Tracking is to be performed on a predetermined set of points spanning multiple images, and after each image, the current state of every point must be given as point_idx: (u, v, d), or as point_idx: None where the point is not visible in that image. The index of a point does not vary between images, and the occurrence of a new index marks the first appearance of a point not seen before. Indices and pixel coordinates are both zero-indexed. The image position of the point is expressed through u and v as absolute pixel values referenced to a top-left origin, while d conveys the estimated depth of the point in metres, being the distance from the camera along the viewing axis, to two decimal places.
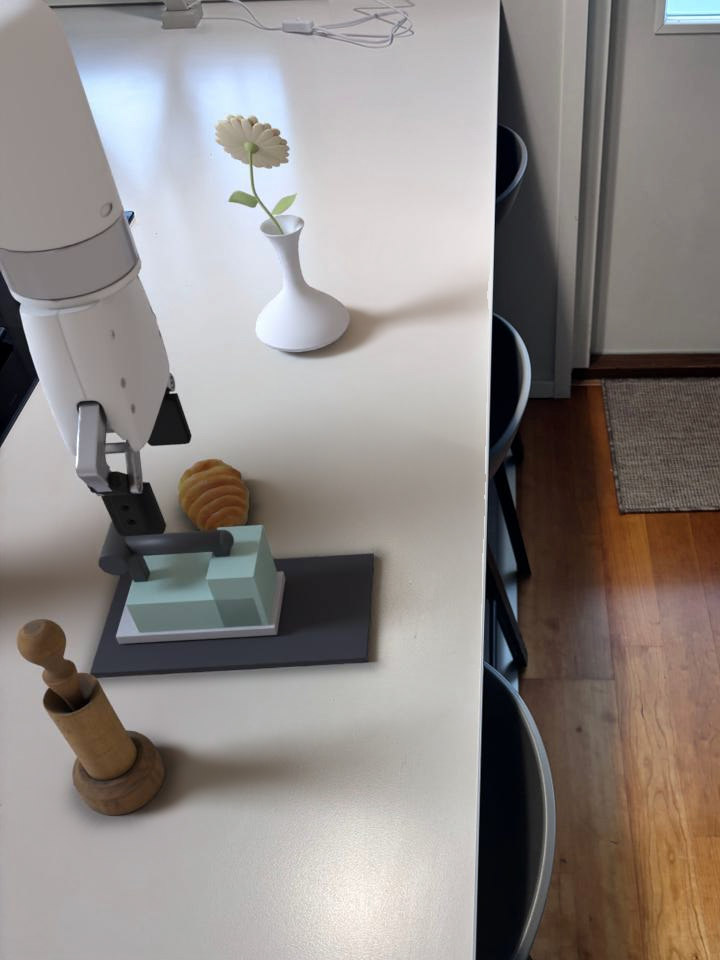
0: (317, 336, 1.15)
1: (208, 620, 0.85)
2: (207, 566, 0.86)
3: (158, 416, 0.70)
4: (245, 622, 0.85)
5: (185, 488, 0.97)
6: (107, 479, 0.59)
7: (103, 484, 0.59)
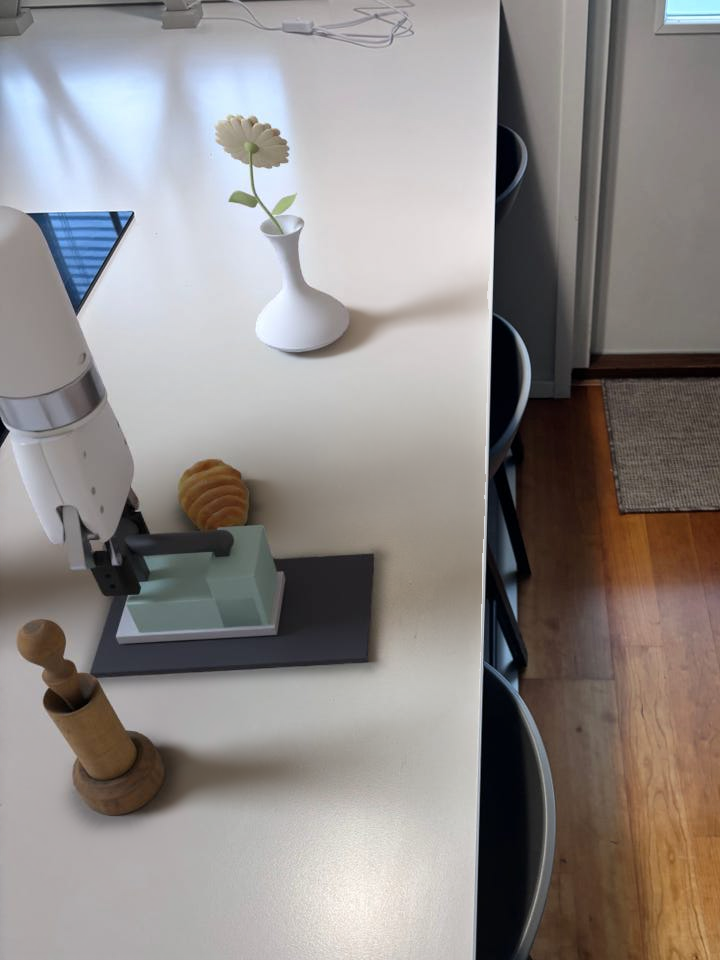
0: (317, 336, 1.15)
1: (208, 620, 0.85)
2: (207, 566, 0.86)
3: None
4: (245, 622, 0.85)
5: (185, 488, 0.97)
6: (93, 557, 0.76)
7: None
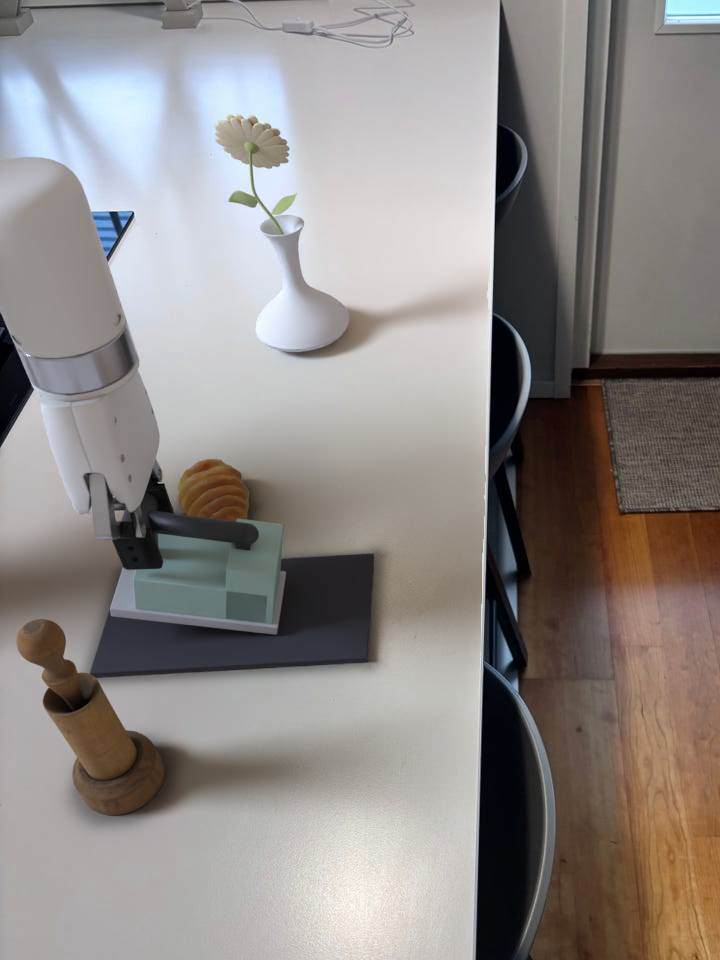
0: (317, 336, 1.15)
1: (212, 609, 0.84)
2: (219, 555, 0.85)
3: None
4: (249, 617, 0.85)
5: (185, 488, 0.97)
6: (118, 528, 0.73)
7: None
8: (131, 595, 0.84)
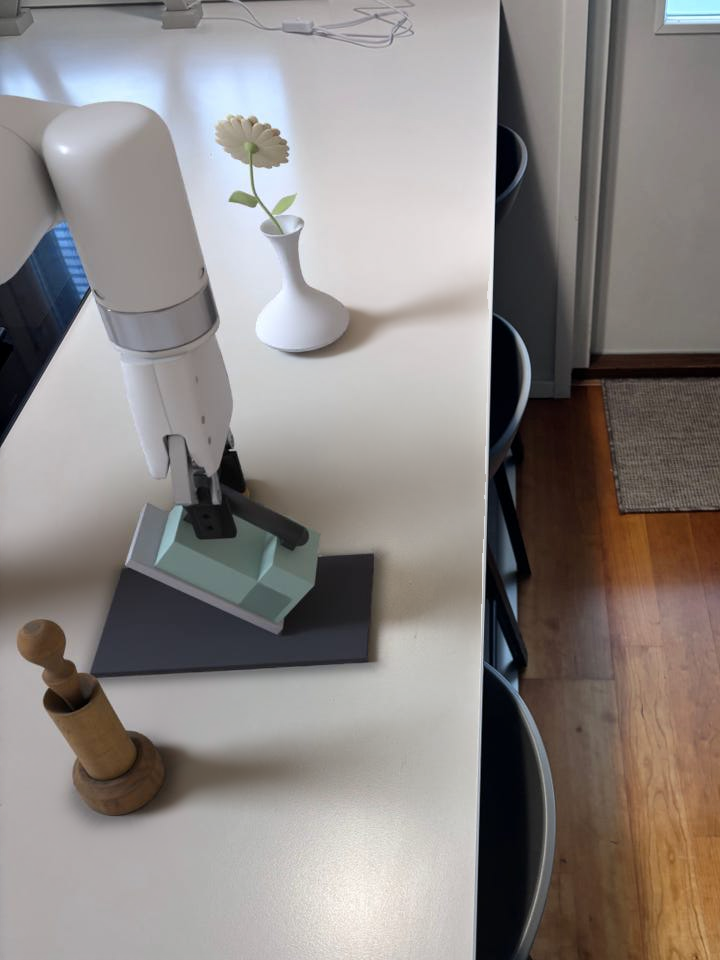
0: (317, 336, 1.15)
1: (231, 592, 0.82)
2: (252, 541, 0.84)
3: None
4: (261, 611, 0.84)
5: None
6: (197, 493, 0.71)
7: None
8: (150, 551, 0.81)
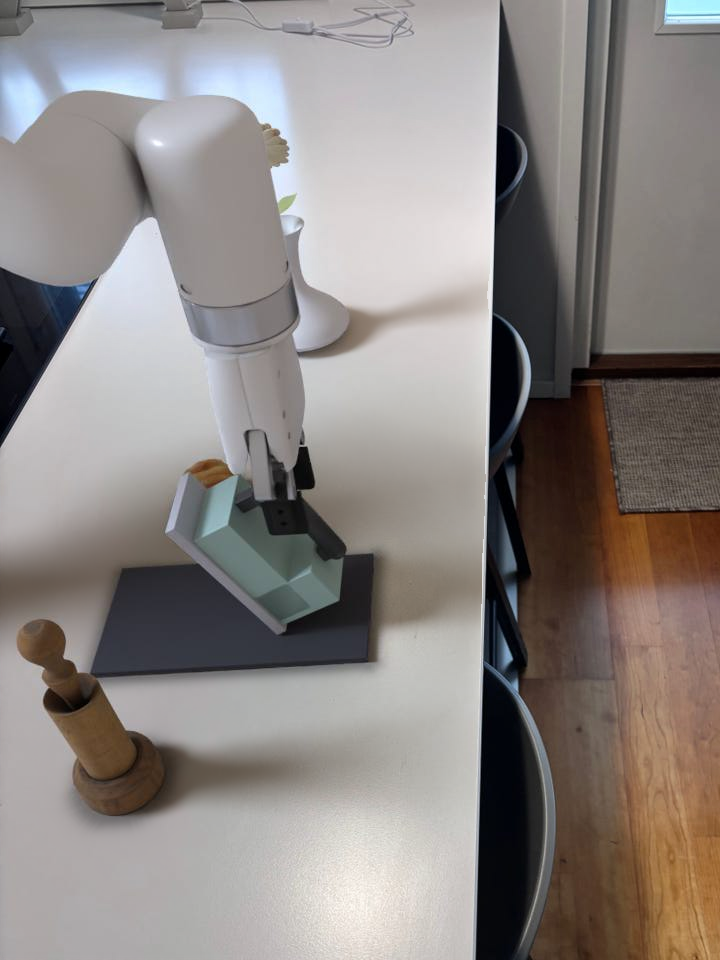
0: (317, 336, 1.15)
1: (255, 585, 0.82)
2: (284, 540, 0.84)
3: None
4: (273, 609, 0.84)
5: None
6: (275, 488, 0.71)
7: None
8: (190, 524, 0.78)
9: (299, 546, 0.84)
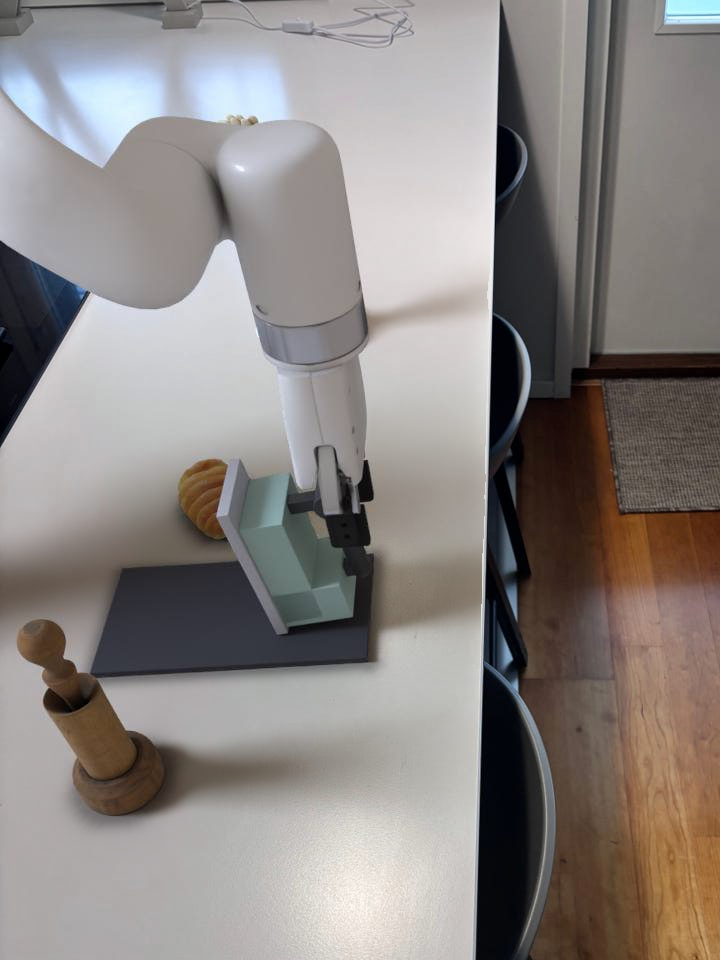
0: None
1: (278, 585, 0.82)
2: (312, 547, 0.84)
3: None
4: (284, 611, 0.84)
5: (185, 488, 0.97)
6: (342, 502, 0.72)
7: None
8: (238, 513, 0.78)
9: (324, 555, 0.85)
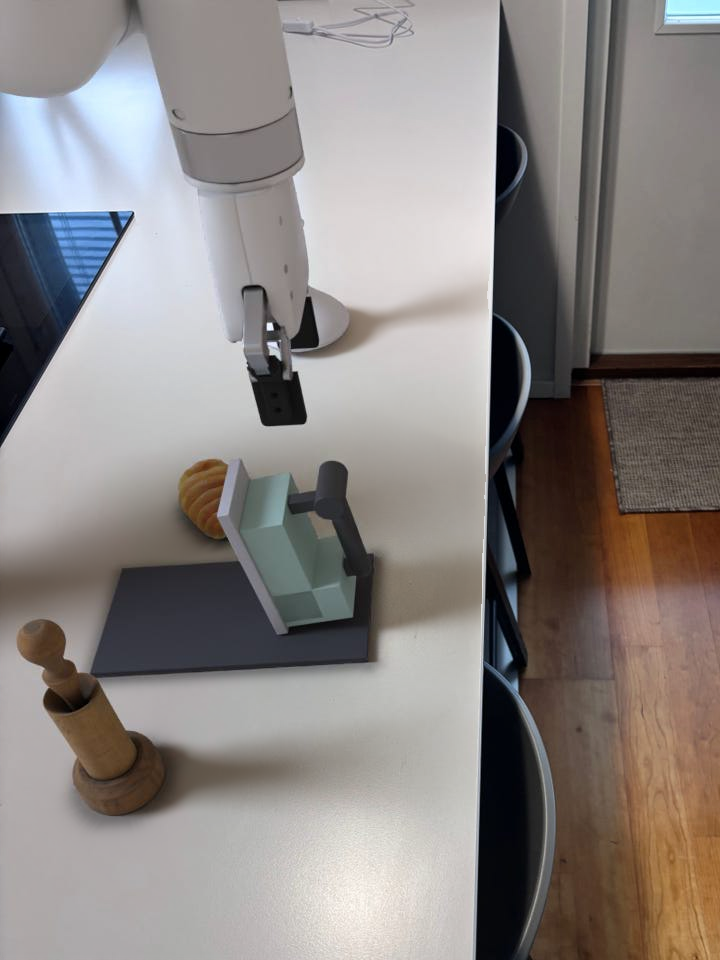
0: None
1: (278, 585, 0.82)
2: (312, 547, 0.84)
3: None
4: (285, 611, 0.84)
5: (185, 488, 0.97)
6: (268, 360, 0.62)
7: (264, 365, 0.62)
8: (238, 513, 0.78)
9: (324, 555, 0.85)
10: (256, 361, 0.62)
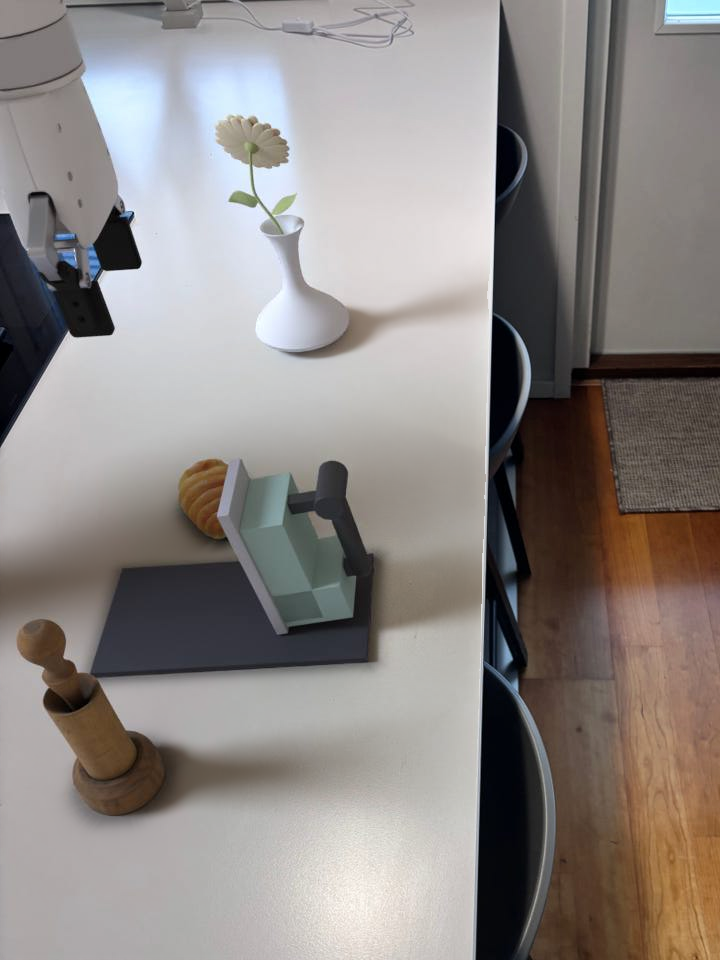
0: (317, 336, 1.15)
1: (278, 585, 0.82)
2: (312, 547, 0.84)
3: (110, 239, 0.76)
4: (285, 611, 0.84)
5: (185, 488, 0.97)
6: (56, 265, 0.65)
7: (52, 269, 0.65)
8: (238, 513, 0.78)
9: (324, 555, 0.85)
10: (43, 265, 0.65)
